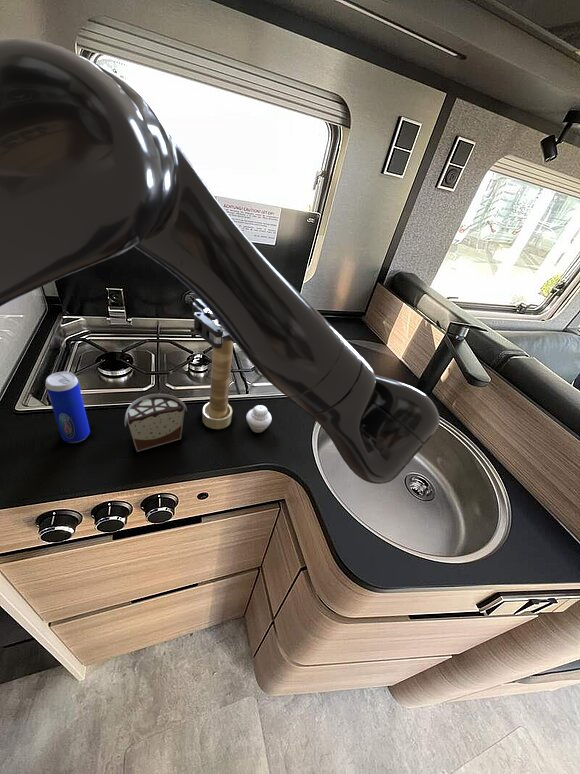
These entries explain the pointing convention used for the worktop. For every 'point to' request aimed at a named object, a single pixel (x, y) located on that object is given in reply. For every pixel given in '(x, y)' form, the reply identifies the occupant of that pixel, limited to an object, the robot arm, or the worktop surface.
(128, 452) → the worktop surface
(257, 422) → the white lidded jar
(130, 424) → the iced muffin
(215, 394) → the post
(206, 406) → the socket
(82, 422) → the beverage can
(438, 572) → the worktop surface
